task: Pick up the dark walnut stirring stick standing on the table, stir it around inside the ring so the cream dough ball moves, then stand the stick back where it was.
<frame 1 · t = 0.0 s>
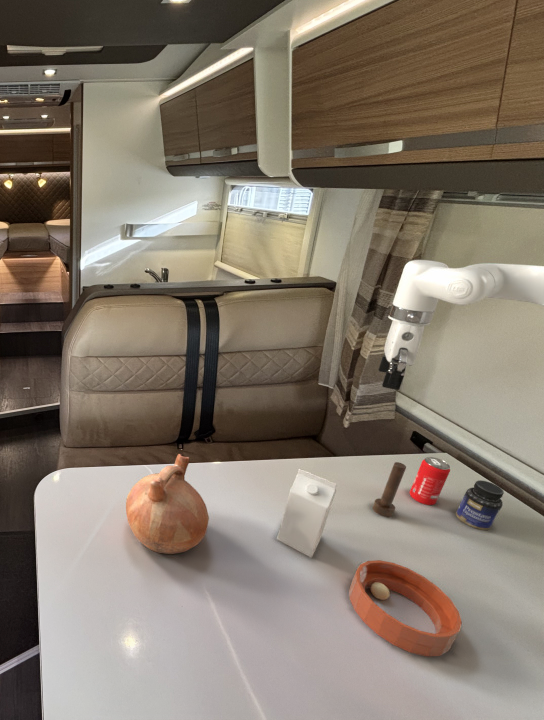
hand: (388, 379, 105), 32 cm above the table, tool pointing down, fingers open, 9 cm apart
pill bottle: (471, 523, 103), on the table
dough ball: (379, 590, 85), point 2 cm above the table, touching ring
beverage can: (421, 501, 110), on the table
milk carton: (297, 542, 99), on the table
jug: (162, 535, 101), on the table
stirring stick: (381, 513, 106), on the table
ring: (395, 616, 82), on the table
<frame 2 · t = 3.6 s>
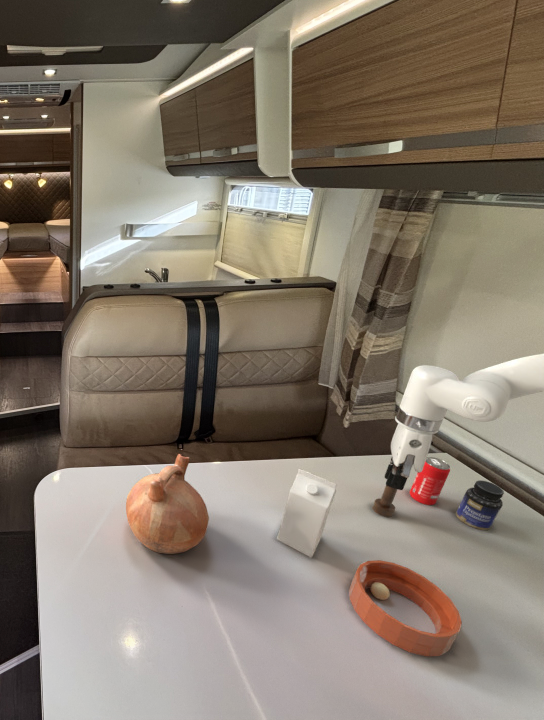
hand: (393, 483, 102), 10 cm above the table, tool pointing down, fingers closed on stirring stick, 2 cm apart
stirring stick: (381, 513, 106), on the table, touching gripper
everything else where it was.
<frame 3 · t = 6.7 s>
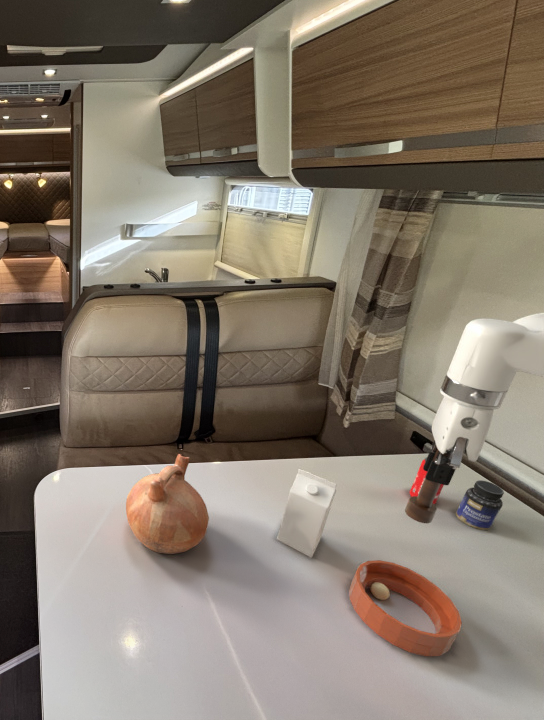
hand: (435, 476, 79), 27 cm above the table, tool pointing down, fingers closed on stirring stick
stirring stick: (417, 515, 83), point 18 cm above the table, touching gripper
everything else where it was.
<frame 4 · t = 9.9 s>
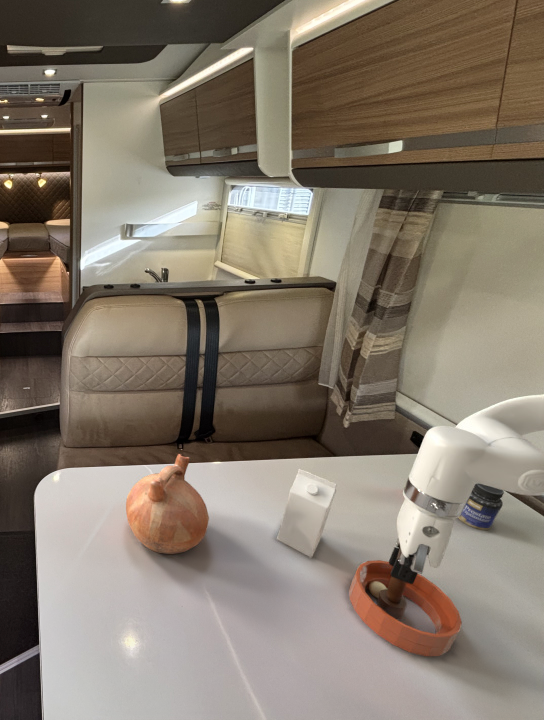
hand: (400, 572, 79), 11 cm above the table, tool pointing down, fingers closed on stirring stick, 2 cm apart
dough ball: (378, 589, 85), point 2 cm above the table, tilted 8°, touching ring, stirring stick
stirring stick: (389, 609, 82), point 1 cm above the table, touching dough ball, gripper
everything else where it was.
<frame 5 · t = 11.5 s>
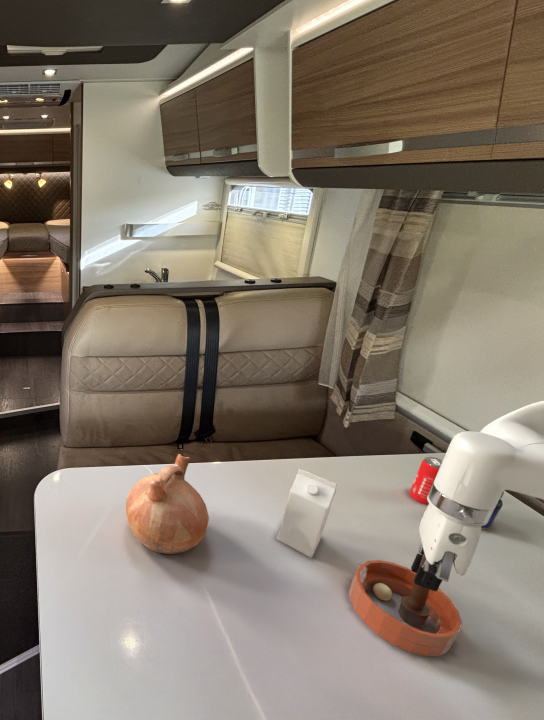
hand: (423, 579, 78), 11 cm above the table, tool pointing down, fingers closed on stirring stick, 2 cm apart
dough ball: (382, 591, 85), point 2 cm above the table, tilted 18°, touching ring
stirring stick: (411, 616, 81), point 1 cm above the table, touching gripper
everything else where it was.
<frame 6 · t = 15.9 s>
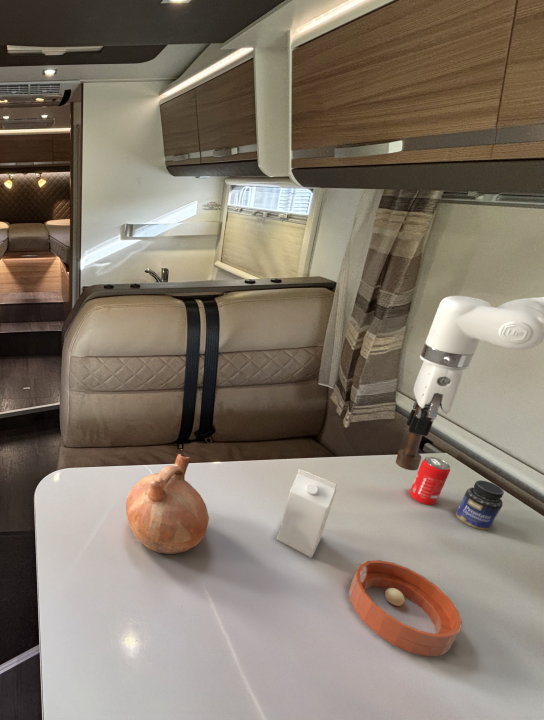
hand: (416, 429, 95), 26 cm above the table, tool pointing down, fingers closed on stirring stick
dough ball: (394, 596, 84), point 2 cm above the table, tilted 92°, touching ring
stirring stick: (406, 465, 98), point 16 cm above the table, touching gripper
everything else where it was.
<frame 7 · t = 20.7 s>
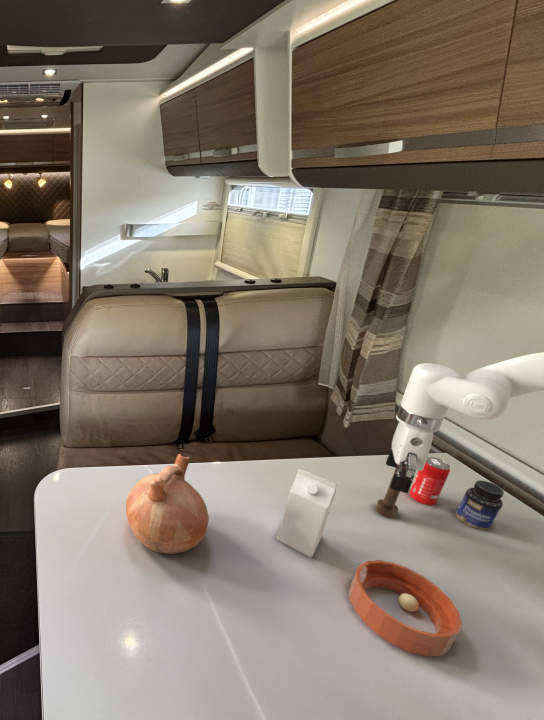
hand: (395, 477, 102), 11 cm above the table, tool pointing down, fingers open, 9 cm apart
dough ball: (408, 602, 83), point 2 cm above the table, tilted 172°, touching ring
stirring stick: (384, 514, 106), on the table
everything else where it was.
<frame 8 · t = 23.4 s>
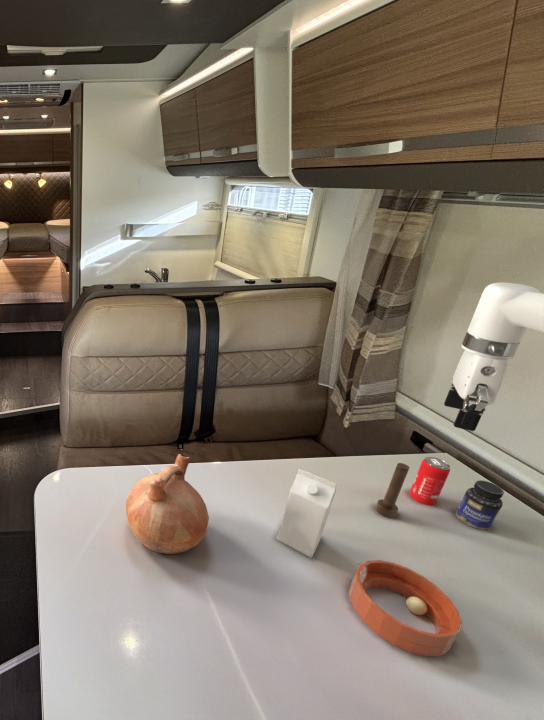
hand: (458, 417, 92), 30 cm above the table, tool pointing down, fingers open, 9 cm apart
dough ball: (416, 605, 82), point 2 cm above the table, tilted 142°, touching ring
everything else where it was.
at the end: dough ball moved 5.7 cm from its start; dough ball inside the target area in the ring (4.0 cm from its centre), point 2.1 cm above the ring's base; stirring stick tilted 0° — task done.
